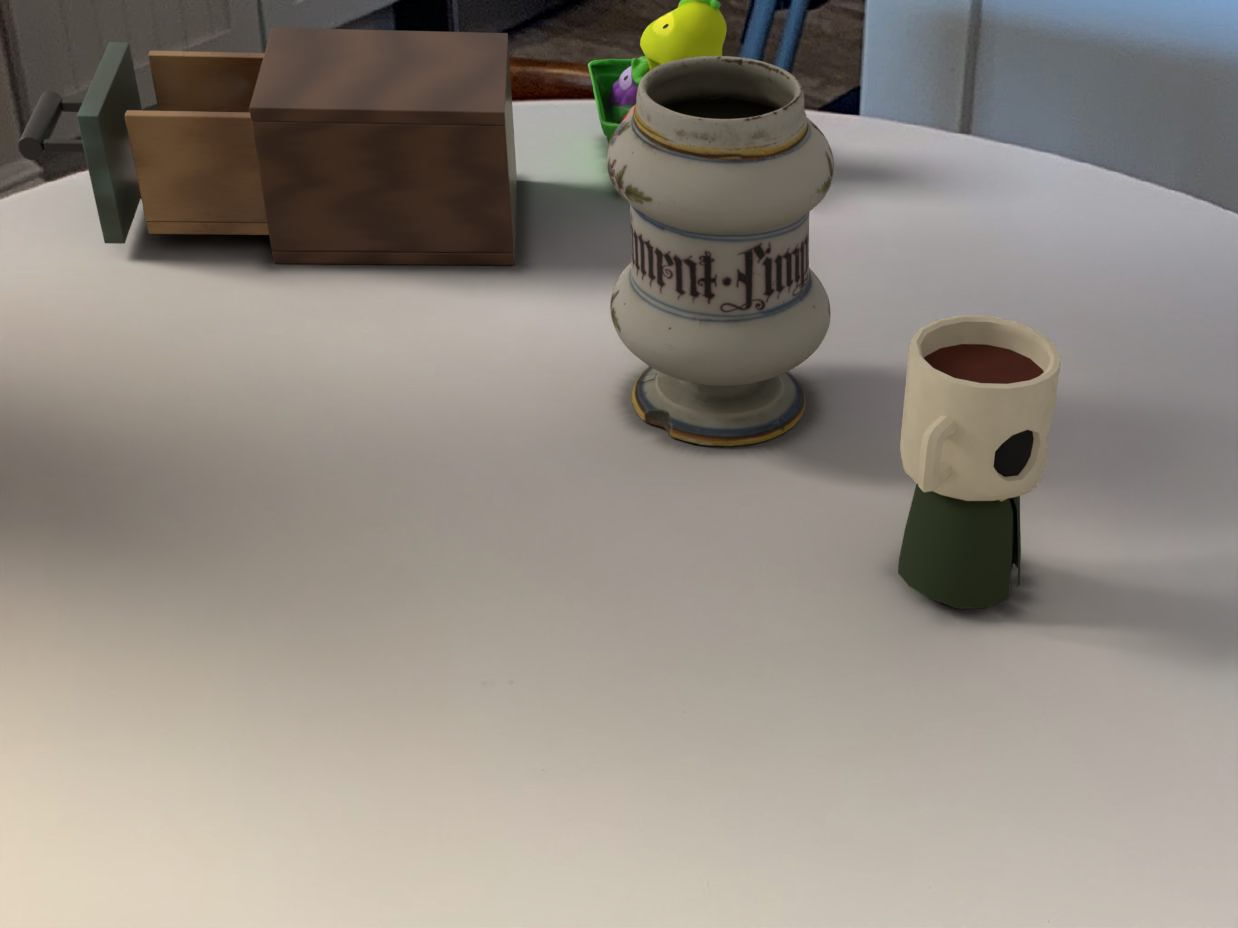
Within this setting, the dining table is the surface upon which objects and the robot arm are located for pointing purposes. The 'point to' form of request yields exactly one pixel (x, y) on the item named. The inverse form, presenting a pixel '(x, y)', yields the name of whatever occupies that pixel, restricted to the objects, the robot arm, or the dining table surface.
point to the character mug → (973, 452)
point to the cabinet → (386, 147)
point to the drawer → (165, 143)
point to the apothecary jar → (720, 247)
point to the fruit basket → (656, 56)
